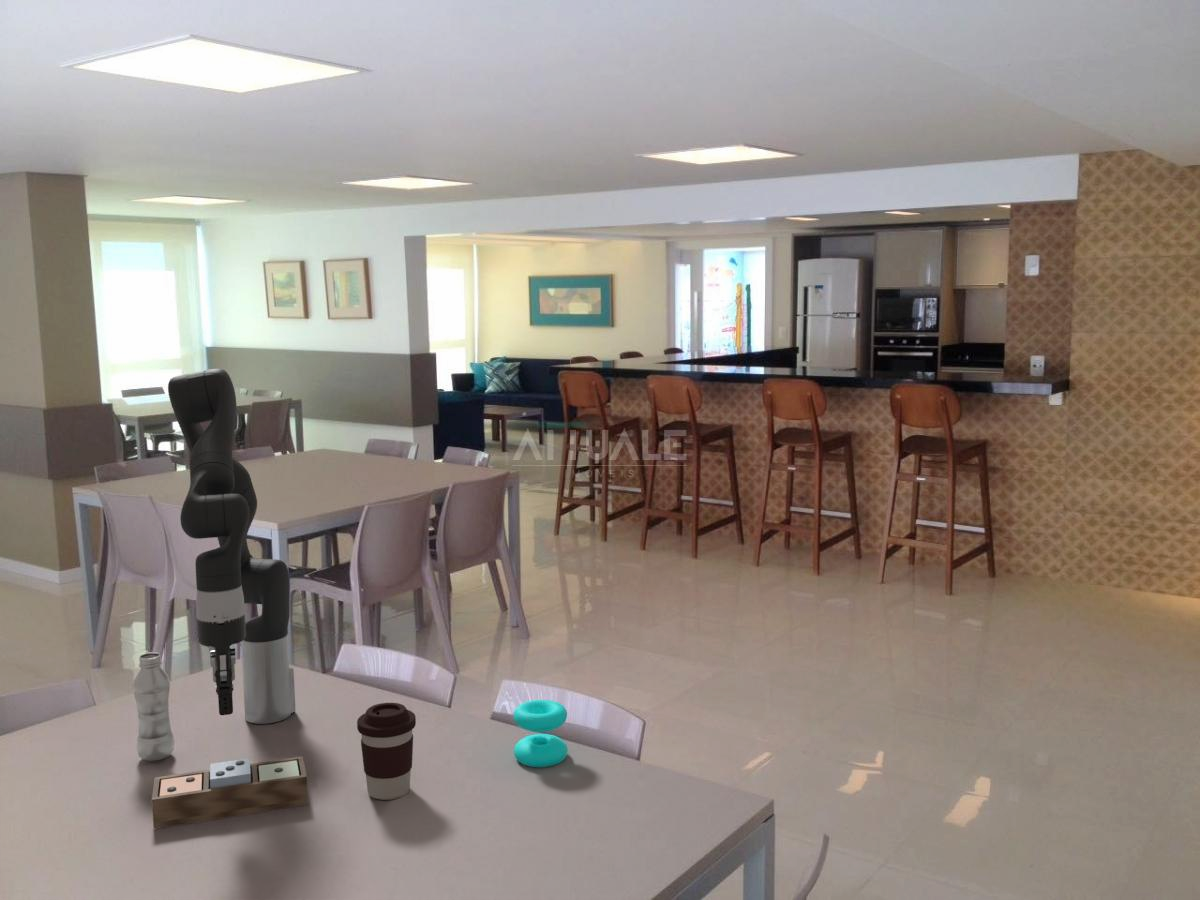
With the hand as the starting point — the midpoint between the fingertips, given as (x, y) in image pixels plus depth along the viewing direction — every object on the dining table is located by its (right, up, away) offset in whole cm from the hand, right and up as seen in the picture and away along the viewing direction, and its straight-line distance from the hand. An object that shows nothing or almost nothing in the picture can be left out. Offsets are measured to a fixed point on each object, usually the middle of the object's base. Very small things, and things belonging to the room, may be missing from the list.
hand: (226, 713), depth 175 cm
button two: (-7, -15, -1) cm, 16 cm away
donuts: (+52, -14, +20) cm, 57 cm away
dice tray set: (0, -16, +2) cm, 16 cm away
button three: (0, -13, +2) cm, 13 cm away
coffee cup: (+26, -16, +7) cm, 31 cm away
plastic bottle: (-21, -14, +21) cm, 33 cm away
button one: (+8, -14, +5) cm, 16 cm away
